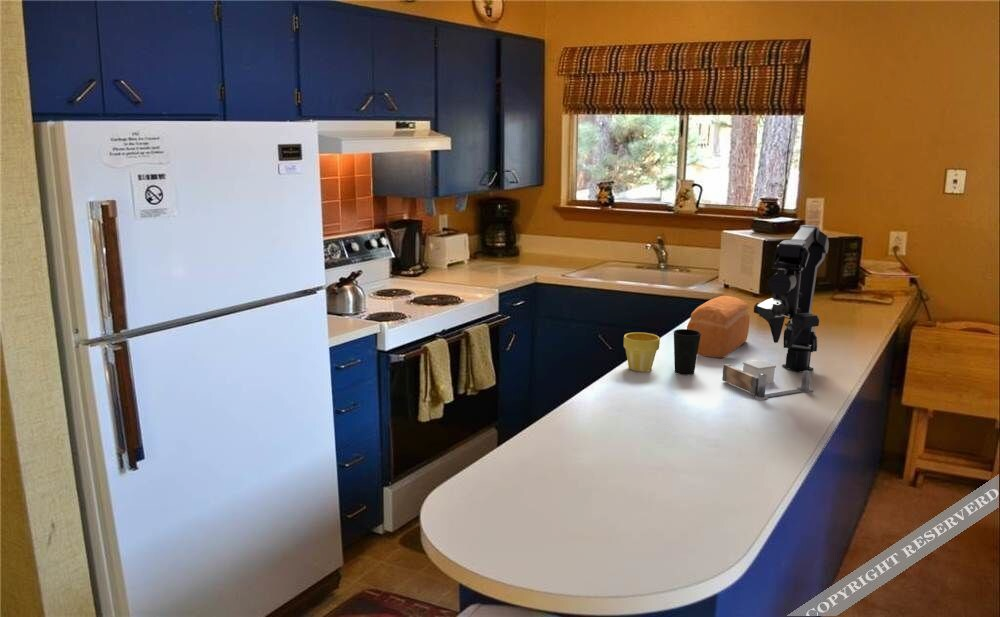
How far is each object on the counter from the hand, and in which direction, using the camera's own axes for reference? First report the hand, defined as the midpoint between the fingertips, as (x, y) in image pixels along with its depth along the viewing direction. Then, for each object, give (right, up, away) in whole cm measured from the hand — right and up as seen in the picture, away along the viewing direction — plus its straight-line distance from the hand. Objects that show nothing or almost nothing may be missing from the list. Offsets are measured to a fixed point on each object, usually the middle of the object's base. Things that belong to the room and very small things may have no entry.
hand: (782, 344), depth 223 cm
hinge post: (-8, -14, -5) cm, 16 cm away
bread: (-6, -3, +43) cm, 44 cm away
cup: (-23, -9, +16) cm, 29 cm away
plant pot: (-36, -8, +19) cm, 41 cm away
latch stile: (+7, -13, +2) cm, 14 cm away
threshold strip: (-1, -13, -2) cm, 13 cm away
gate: (-11, -12, +2) cm, 16 cm away
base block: (-4, -11, +10) cm, 15 cm away
